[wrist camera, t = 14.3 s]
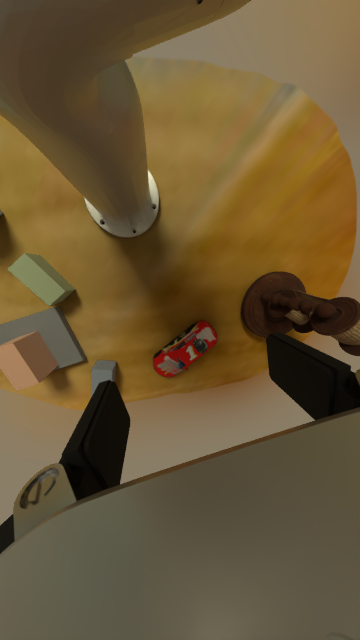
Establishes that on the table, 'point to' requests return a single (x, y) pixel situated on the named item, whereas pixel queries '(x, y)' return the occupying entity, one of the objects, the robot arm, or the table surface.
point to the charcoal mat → (47, 335)
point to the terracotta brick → (26, 360)
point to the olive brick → (41, 278)
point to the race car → (185, 349)
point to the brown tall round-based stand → (300, 311)
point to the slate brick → (102, 373)
